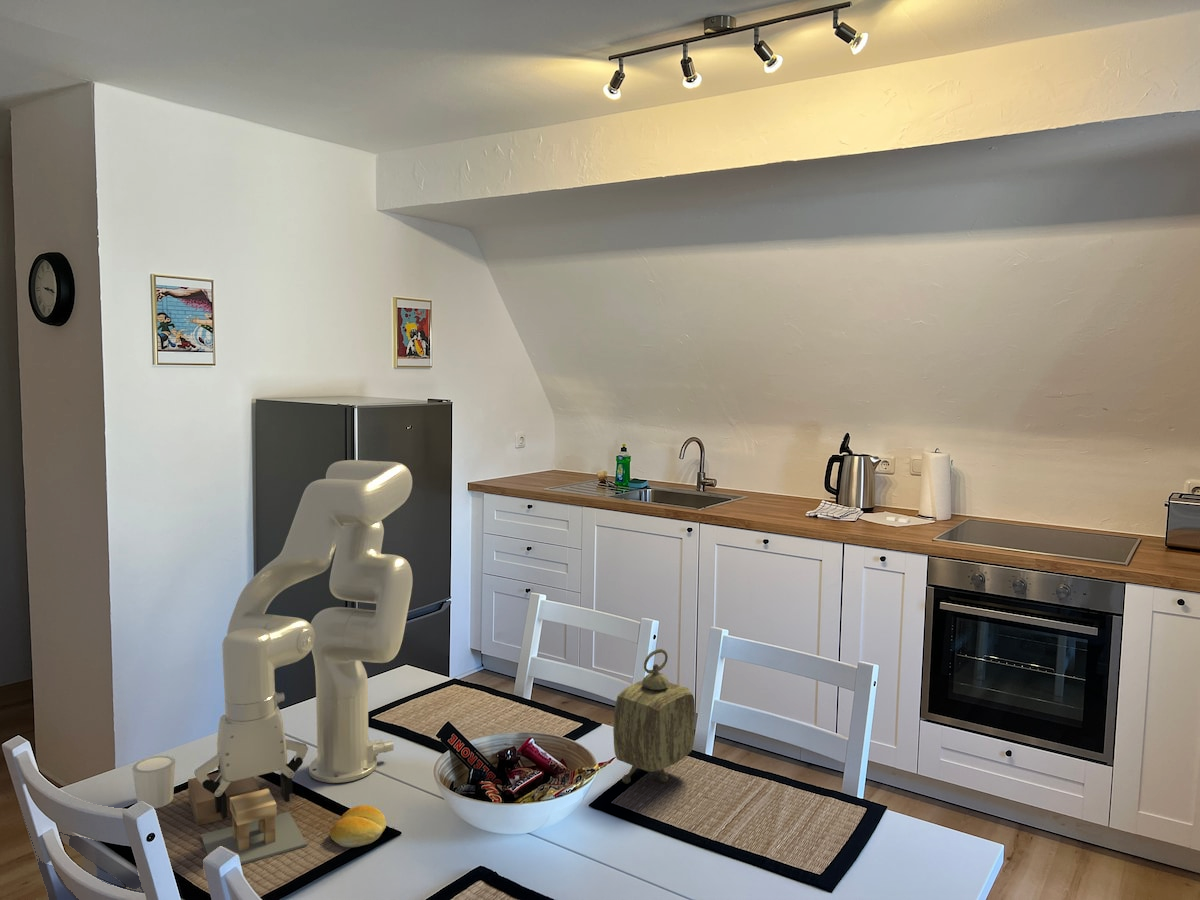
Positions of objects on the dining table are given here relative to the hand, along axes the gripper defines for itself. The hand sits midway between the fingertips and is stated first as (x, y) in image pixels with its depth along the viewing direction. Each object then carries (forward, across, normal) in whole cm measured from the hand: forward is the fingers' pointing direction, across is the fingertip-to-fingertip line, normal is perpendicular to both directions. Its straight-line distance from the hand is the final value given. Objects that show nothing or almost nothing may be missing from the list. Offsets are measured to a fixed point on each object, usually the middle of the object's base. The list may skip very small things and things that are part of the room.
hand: (254, 806), depth 141 cm
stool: (+5, 0, 0) cm, 5 cm away
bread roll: (+6, -15, +7) cm, 17 cm away
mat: (+6, 0, 0) cm, 6 cm away
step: (+6, +2, -14) cm, 16 cm away
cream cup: (+6, +12, -22) cm, 26 cm away
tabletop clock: (+7, -68, +18) cm, 71 cm away
